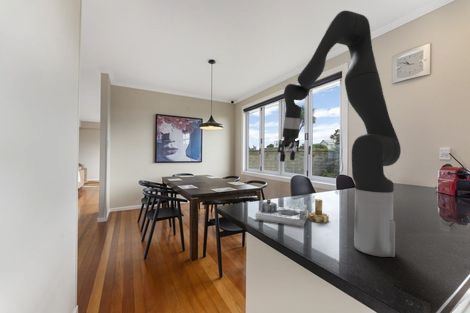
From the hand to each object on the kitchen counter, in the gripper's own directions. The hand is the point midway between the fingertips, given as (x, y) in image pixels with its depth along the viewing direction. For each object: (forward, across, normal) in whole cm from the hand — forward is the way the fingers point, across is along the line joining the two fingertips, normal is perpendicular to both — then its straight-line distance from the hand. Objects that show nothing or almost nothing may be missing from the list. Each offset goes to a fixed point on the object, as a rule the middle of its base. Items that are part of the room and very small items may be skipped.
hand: (287, 160), depth 103 cm
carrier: (+22, -14, -10) cm, 28 cm away
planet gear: (+21, -5, -22) cm, 30 cm away
